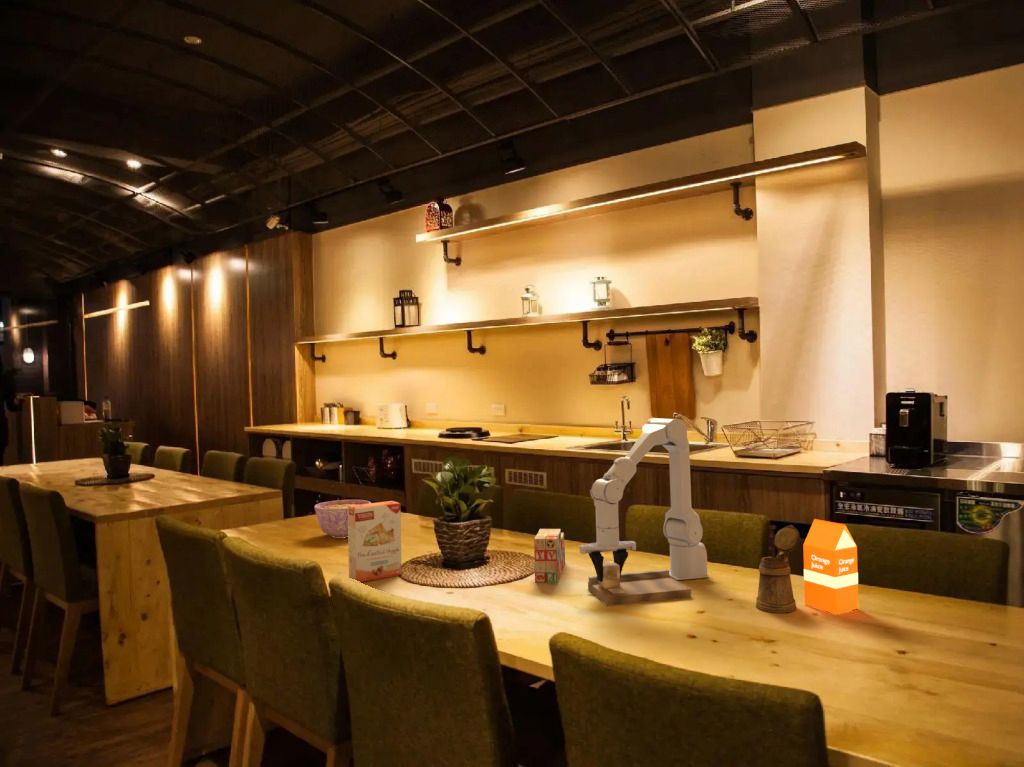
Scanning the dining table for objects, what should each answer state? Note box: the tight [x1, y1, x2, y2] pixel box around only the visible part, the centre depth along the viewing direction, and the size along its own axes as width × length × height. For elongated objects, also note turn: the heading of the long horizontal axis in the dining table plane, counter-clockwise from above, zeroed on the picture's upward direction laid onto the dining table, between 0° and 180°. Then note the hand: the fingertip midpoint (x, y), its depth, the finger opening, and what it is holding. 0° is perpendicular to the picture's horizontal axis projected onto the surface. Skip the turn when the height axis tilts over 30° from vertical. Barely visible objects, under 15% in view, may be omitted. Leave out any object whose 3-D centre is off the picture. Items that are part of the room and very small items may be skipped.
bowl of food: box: [314, 499, 372, 537], centre depth 263 cm, size 20×20×12 cm
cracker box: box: [347, 500, 402, 583], centre depth 205 cm, size 14×6×21 cm, turn 125°
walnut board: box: [587, 569, 692, 606], centre depth 184 cm, size 22×14×4 cm, turn 103°
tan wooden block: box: [598, 560, 620, 589], centre depth 184 cm, size 4×5×6 cm
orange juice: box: [802, 518, 859, 614], centre depth 169 cm, size 8×9×20 cm
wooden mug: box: [755, 524, 801, 614], centre depth 172 cm, size 9×14×18 cm, turn 133°
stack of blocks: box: [533, 528, 566, 584], centre depth 206 cm, size 21×6×12 cm, turn 170°
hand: (608, 579), depth 184 cm, fingers closed on tan wooden block, 4 cm apart
